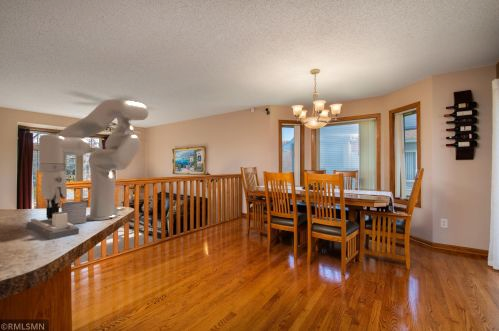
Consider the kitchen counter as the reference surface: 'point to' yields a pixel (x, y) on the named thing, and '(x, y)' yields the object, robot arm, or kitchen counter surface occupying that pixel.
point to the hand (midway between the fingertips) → (52, 217)
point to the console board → (51, 229)
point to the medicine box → (75, 212)
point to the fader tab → (59, 220)
